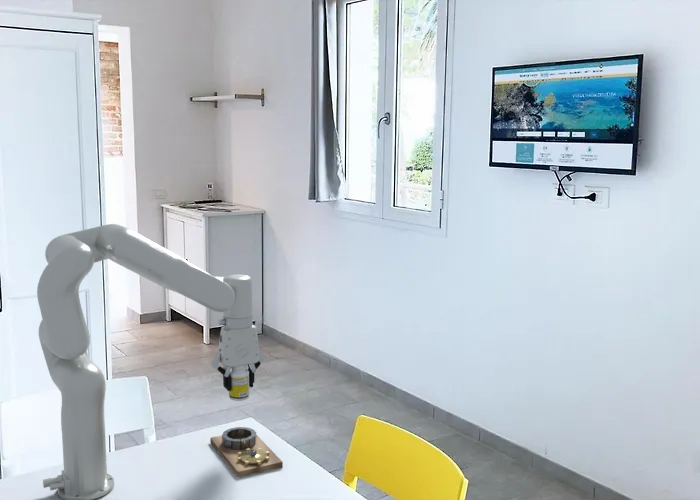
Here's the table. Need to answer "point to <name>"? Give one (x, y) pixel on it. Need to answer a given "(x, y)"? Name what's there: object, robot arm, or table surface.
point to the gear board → (240, 468)
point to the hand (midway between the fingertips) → (239, 386)
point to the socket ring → (239, 444)
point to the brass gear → (253, 456)
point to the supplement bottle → (239, 383)
